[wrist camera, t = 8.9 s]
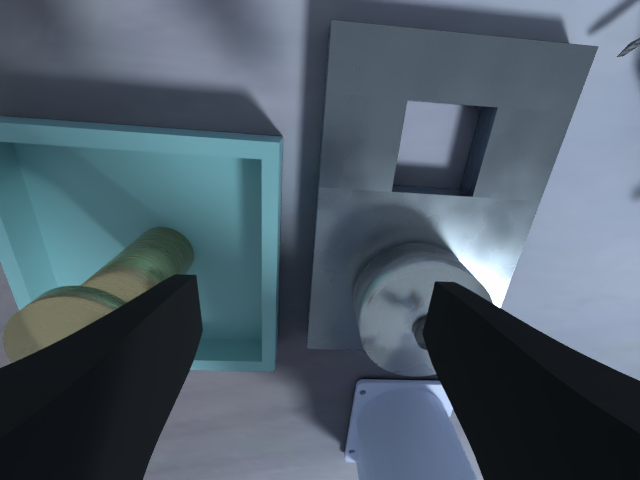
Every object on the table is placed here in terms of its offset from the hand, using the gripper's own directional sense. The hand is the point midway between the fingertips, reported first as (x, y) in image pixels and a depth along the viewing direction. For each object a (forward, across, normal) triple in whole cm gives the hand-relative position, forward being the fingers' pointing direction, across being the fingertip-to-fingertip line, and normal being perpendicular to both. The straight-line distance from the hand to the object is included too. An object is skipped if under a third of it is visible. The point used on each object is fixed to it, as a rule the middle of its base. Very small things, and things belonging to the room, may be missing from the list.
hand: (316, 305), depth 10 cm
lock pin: (+9, +8, +3) cm, 12 cm away
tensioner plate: (+9, -6, 0) cm, 11 cm away
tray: (+9, +9, +3) cm, 13 cm away
